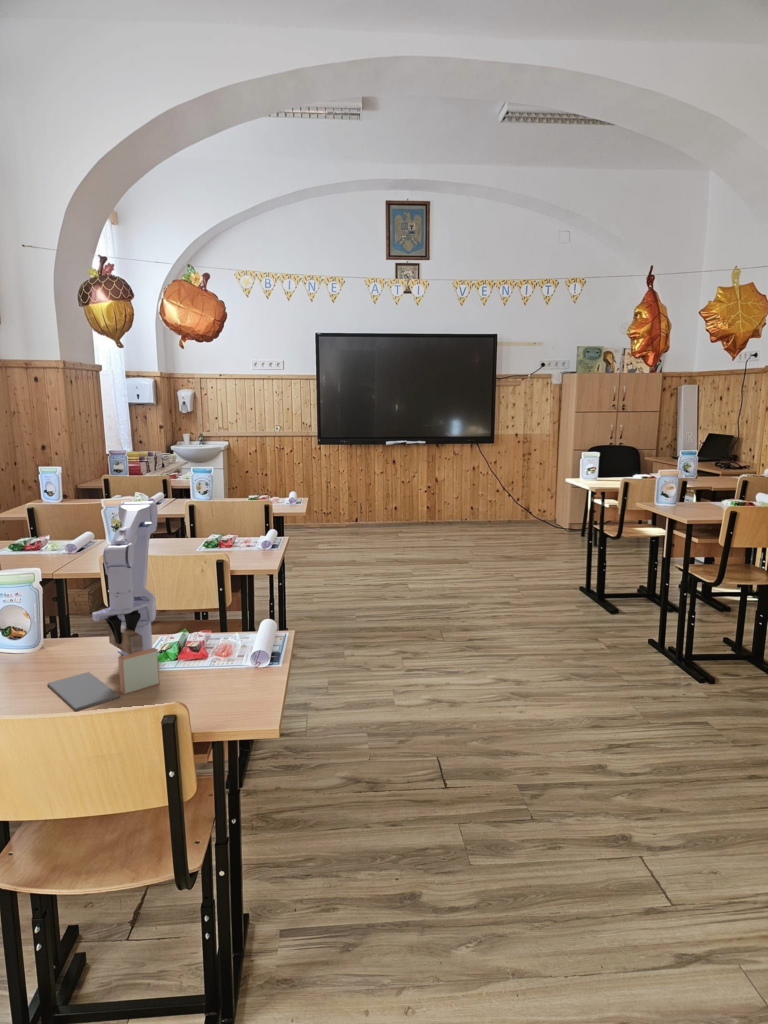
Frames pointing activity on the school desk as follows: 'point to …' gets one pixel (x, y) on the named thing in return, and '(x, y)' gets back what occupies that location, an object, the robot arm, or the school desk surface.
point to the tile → (138, 670)
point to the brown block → (127, 640)
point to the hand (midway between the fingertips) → (124, 641)
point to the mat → (82, 691)
